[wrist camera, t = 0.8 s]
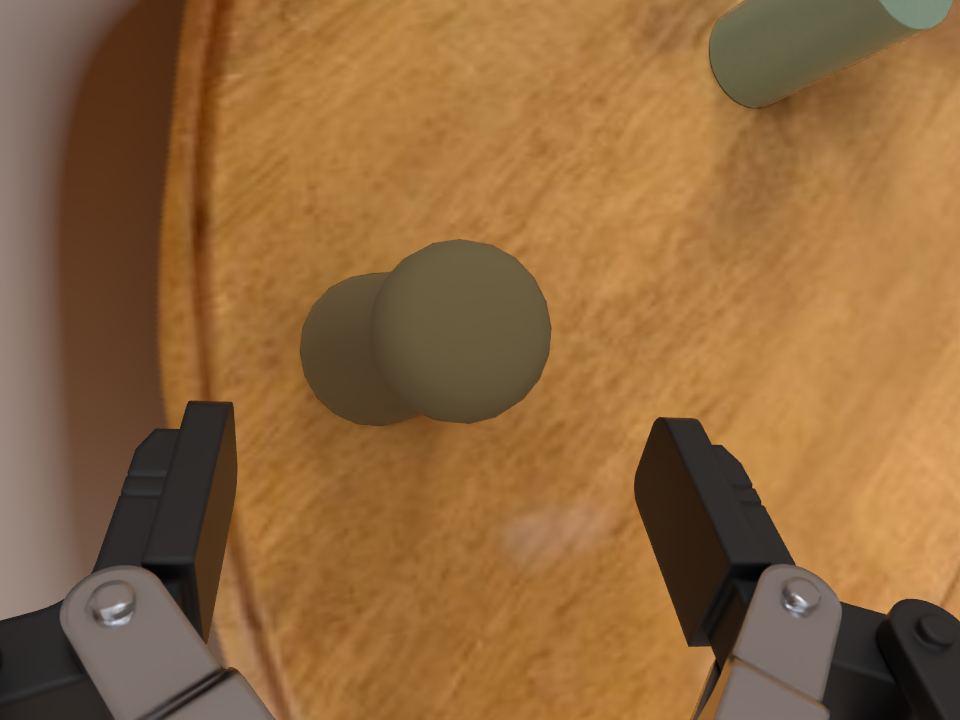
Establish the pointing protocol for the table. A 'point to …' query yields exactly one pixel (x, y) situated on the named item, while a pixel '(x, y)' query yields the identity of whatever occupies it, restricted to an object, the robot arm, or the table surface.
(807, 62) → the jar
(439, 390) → the olive chess pawn
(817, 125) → the table surface
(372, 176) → the table surface
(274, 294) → the table surface
